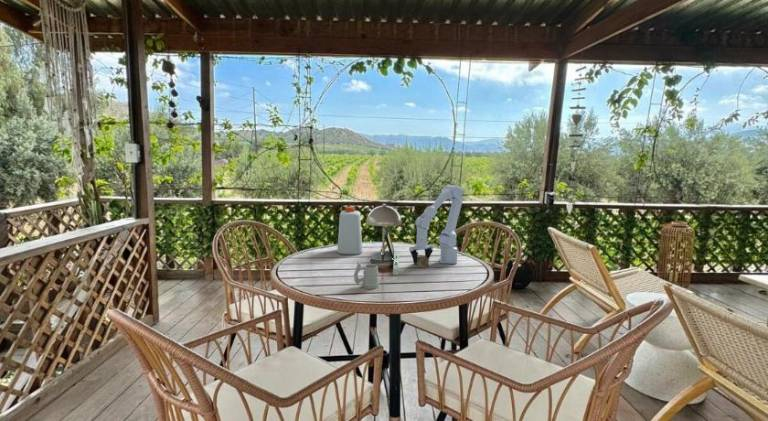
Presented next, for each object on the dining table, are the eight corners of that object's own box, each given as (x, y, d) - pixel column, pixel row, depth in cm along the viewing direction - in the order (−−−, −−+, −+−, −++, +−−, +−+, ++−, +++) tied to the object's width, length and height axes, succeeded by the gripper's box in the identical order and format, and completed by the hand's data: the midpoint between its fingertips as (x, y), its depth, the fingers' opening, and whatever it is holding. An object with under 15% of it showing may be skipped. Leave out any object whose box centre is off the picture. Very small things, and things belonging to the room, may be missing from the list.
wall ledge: (398, 260, 218) (398, 252, 218) (397, 274, 193) (398, 266, 192) (394, 259, 219) (394, 252, 218) (393, 274, 193) (393, 266, 192)
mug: (380, 288, 173) (380, 263, 172) (354, 290, 172) (354, 264, 170) (377, 283, 181) (378, 259, 179) (353, 284, 179) (353, 259, 177)
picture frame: (394, 260, 217) (391, 235, 214) (378, 262, 217) (375, 236, 215) (393, 250, 239) (391, 227, 237) (379, 251, 240) (377, 228, 237)
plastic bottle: (362, 248, 242) (362, 205, 237) (362, 255, 227) (362, 209, 223) (338, 248, 241) (338, 205, 237) (336, 255, 226) (336, 209, 222)
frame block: (420, 262, 214) (421, 254, 213) (428, 267, 207) (429, 258, 206) (413, 263, 212) (414, 255, 211) (421, 268, 205) (421, 259, 204)
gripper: (428, 235, 214) (427, 258, 216) (406, 238, 207) (406, 261, 209) (435, 238, 208) (434, 262, 210) (413, 241, 201) (412, 265, 203)
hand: (420, 262), depth 209 cm, fingers open, 7 cm apart
